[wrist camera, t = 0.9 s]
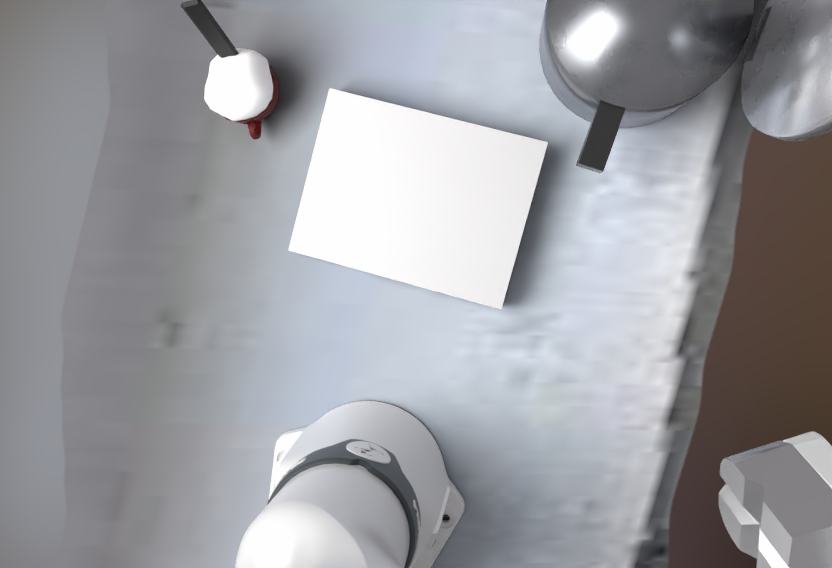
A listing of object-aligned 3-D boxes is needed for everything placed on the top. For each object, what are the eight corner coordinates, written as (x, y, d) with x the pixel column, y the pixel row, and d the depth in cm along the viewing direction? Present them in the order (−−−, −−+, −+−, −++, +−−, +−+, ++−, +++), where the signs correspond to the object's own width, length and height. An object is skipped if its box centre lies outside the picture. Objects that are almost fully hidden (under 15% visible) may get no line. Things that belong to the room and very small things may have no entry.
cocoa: (278, 144, 68) (237, 132, 56) (214, 132, 68) (160, 118, 57) (294, 42, 67) (255, 7, 55) (229, 31, 67) (177, -6, 55)
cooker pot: (658, 204, 64) (687, 197, 54) (498, 151, 65) (498, 135, 56) (739, -17, 62) (785, -65, 52) (572, -66, 64) (587, -123, 54)
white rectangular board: (299, 250, 69) (502, 306, 66) (288, 250, 66) (501, 309, 63) (338, 96, 68) (546, 148, 65) (329, 88, 64) (548, 142, 62)
